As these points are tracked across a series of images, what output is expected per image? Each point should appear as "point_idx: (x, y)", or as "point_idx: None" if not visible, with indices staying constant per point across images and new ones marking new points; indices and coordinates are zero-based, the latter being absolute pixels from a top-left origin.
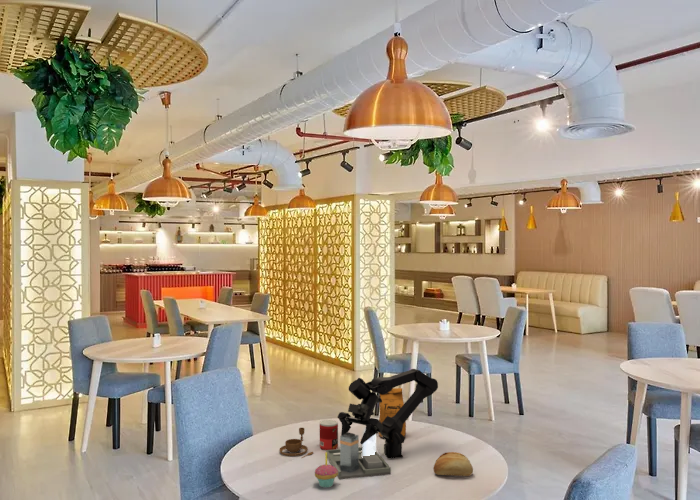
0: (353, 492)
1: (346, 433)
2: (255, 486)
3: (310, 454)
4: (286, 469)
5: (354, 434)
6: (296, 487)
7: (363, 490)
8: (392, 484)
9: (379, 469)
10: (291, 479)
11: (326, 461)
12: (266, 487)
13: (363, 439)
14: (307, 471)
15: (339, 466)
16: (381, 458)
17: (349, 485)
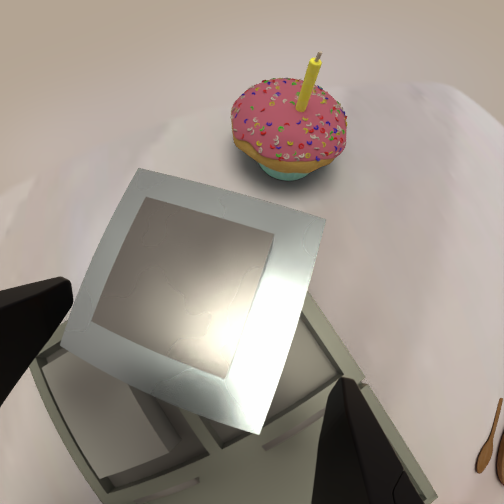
0: (158, 136)
1: (246, 306)
2: (466, 119)
3: (482, 448)
4: (494, 259)
5: (97, 312)
6: (375, 122)
7: (123, 161)
8: (31, 248)
9: (61, 325)
10: (431, 176)
11: (301, 91)
12: (443, 115)
13: (23, 291)
14: (430, 268)
15: (304, 358)
16: (90, 477)
17: None
